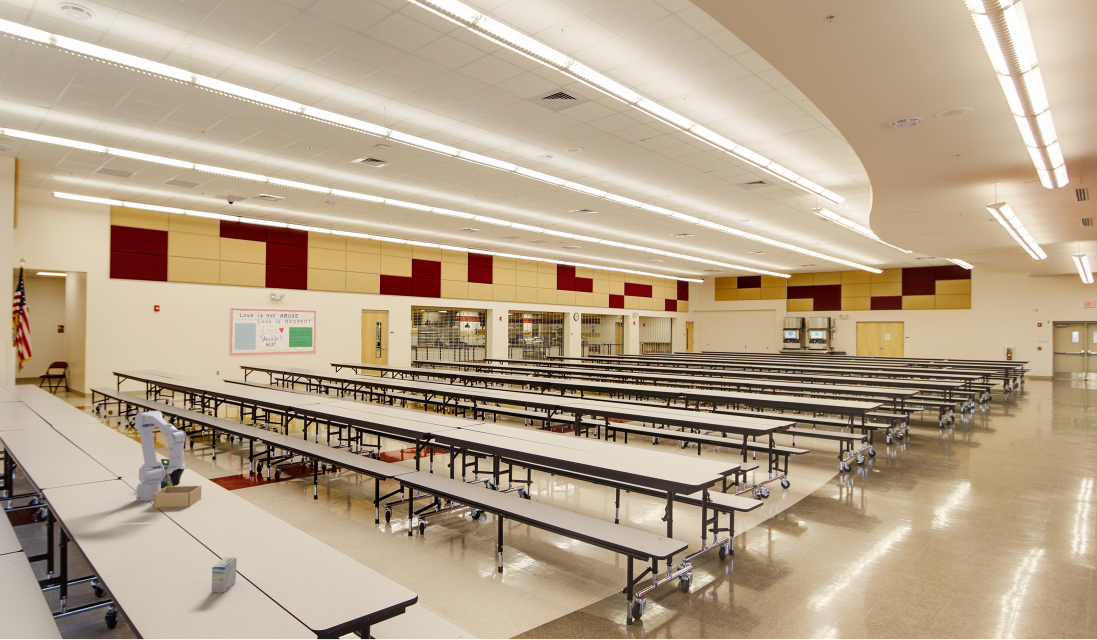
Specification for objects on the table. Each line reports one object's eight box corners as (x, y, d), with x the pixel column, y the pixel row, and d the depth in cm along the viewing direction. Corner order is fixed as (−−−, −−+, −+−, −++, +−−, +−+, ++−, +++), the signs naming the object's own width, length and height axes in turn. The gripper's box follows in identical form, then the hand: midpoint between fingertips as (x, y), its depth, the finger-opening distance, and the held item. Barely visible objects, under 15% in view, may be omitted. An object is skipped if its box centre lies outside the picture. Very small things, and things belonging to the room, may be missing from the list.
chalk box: (180, 483, 308) (180, 456, 308) (167, 488, 298) (167, 460, 298) (164, 483, 308) (165, 456, 309) (151, 487, 299) (151, 460, 299)
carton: (153, 509, 266) (153, 493, 266) (166, 501, 278) (166, 486, 278) (190, 507, 269) (190, 492, 269) (201, 500, 281) (201, 485, 281)
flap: (155, 507, 266) (155, 493, 266) (155, 507, 267) (156, 493, 267) (188, 506, 269) (188, 493, 269) (188, 506, 269) (188, 492, 269)
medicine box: (222, 582, 194) (223, 557, 194) (236, 582, 194) (236, 557, 194) (211, 593, 186) (211, 567, 186) (225, 592, 186) (225, 566, 186)
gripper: (178, 460, 264) (177, 488, 264) (192, 453, 279) (191, 480, 279) (161, 460, 263) (161, 489, 263) (176, 453, 277) (175, 480, 277)
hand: (175, 484), depth 271 cm, fingers closed
